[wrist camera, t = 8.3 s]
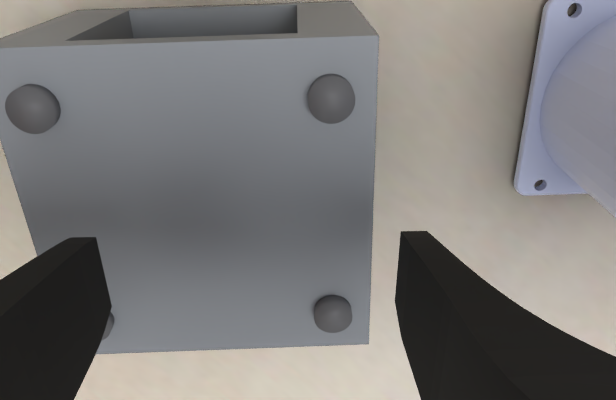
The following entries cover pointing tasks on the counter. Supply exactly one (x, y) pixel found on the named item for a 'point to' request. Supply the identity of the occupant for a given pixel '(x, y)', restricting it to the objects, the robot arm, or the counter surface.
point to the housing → (204, 166)
